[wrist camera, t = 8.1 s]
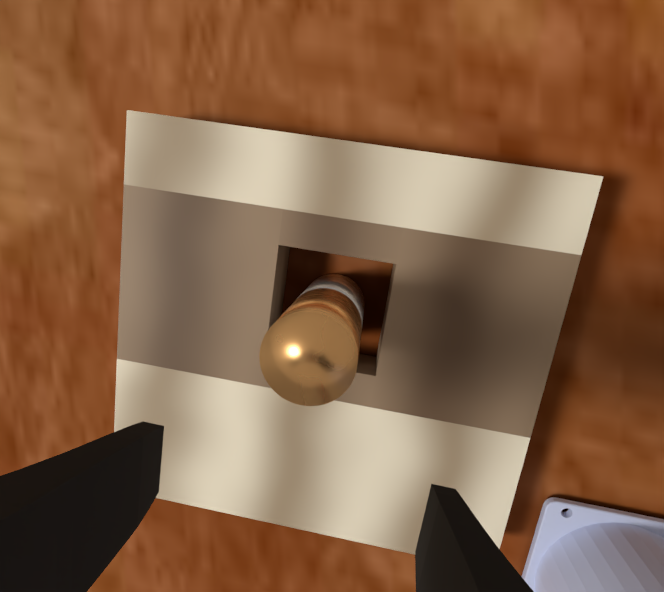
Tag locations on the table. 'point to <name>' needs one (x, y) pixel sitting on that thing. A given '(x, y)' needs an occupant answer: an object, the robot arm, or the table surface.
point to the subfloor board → (372, 372)
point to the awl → (315, 343)
